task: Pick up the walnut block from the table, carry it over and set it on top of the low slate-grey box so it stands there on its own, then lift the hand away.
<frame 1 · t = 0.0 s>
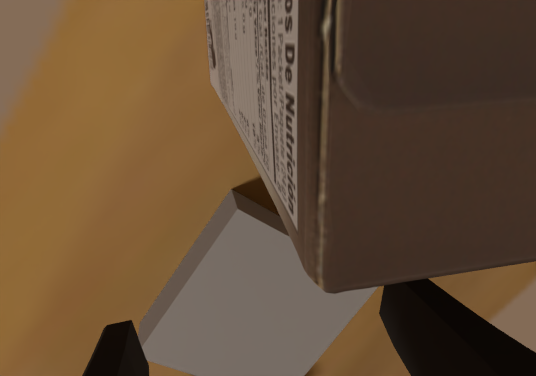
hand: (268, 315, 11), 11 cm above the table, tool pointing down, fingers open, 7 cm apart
coffee box: (297, 18, 18), on the table
grey box: (253, 286, 24), on the table
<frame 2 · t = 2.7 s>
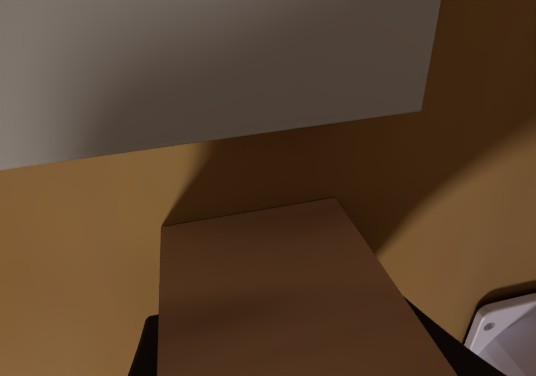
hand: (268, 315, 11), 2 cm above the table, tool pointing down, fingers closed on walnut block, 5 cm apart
walnut block: (256, 274, 12), on the table, touching gripper
when the fingers open (6 cm above the table, at t = 6.2 s): walnut block drops 2 cm, resting on grey box.
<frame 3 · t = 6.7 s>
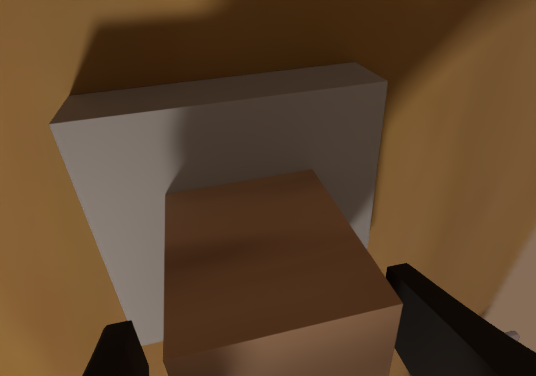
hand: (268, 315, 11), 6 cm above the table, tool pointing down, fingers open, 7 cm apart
walnut block: (247, 238, 14), point 2 cm above the table, touching grey box
grey box: (233, 189, 16), on the table, touching walnut block
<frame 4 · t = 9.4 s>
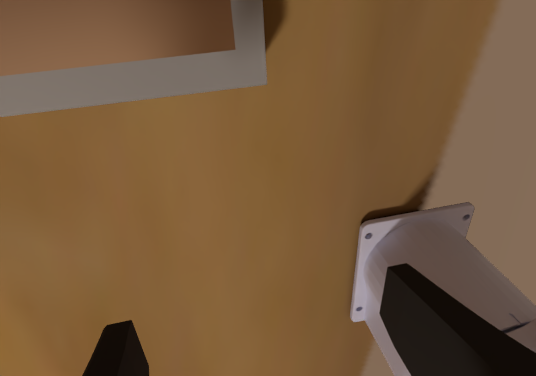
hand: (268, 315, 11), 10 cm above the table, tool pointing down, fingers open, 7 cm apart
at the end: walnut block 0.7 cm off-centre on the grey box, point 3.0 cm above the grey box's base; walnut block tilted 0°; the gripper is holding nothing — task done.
